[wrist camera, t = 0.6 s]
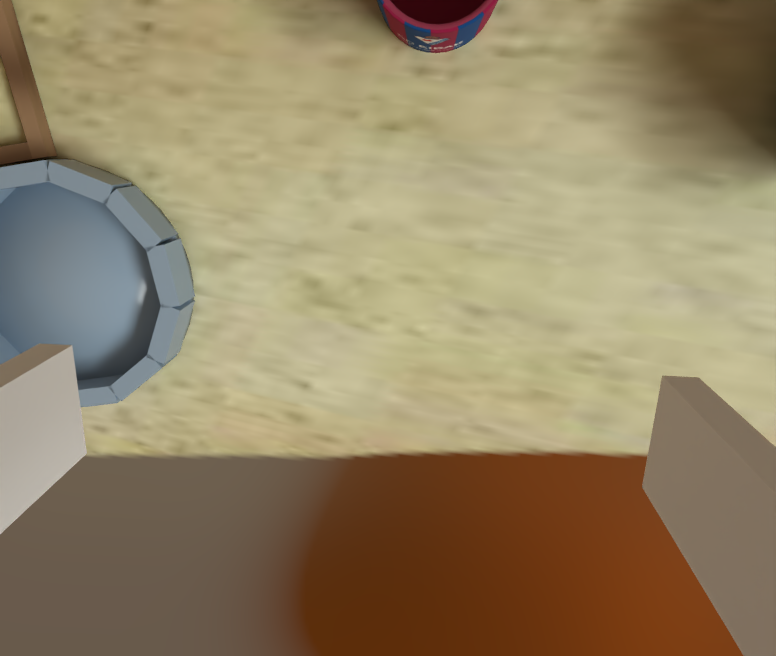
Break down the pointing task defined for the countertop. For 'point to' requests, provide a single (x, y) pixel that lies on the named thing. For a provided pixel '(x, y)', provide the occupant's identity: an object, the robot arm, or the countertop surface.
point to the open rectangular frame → (22, 94)
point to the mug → (436, 21)
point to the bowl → (90, 275)
